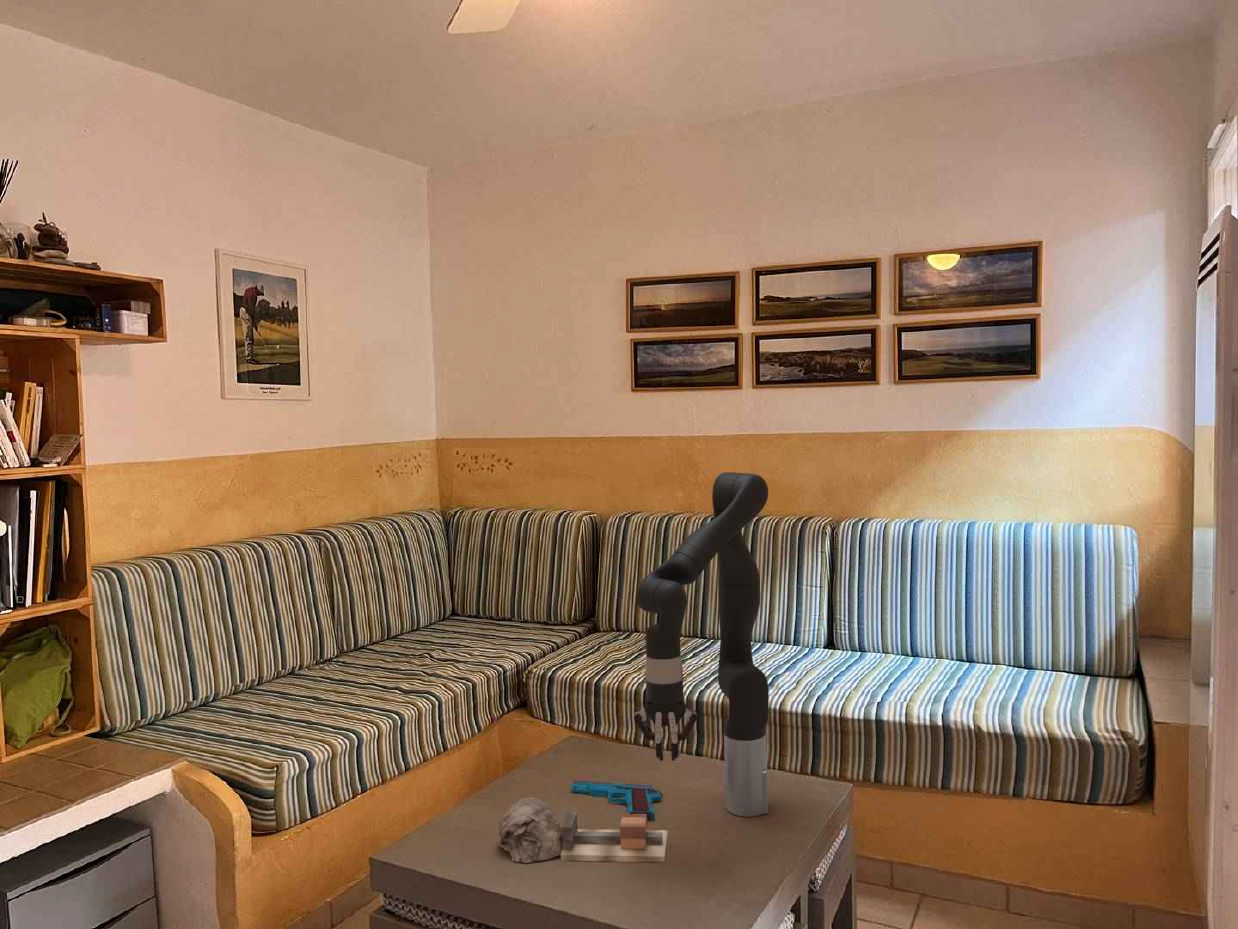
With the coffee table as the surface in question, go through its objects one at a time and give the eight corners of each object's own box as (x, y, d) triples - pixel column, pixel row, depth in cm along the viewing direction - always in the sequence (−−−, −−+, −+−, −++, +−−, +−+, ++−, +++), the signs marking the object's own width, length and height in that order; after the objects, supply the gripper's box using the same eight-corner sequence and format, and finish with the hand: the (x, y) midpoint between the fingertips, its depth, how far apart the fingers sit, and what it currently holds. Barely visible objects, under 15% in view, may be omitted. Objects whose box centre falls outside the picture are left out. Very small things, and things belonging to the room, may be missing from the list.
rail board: (667, 836, 200) (666, 808, 199) (664, 862, 189) (663, 833, 188) (569, 834, 202) (568, 807, 201) (561, 860, 191) (559, 832, 191)
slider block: (647, 835, 197) (646, 814, 197) (645, 849, 192) (644, 827, 191) (623, 835, 198) (622, 813, 197) (620, 848, 192) (619, 826, 192)
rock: (576, 844, 198) (574, 798, 197) (545, 871, 187) (542, 823, 186) (518, 830, 205) (515, 786, 204) (484, 856, 195) (481, 809, 194)
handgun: (653, 825, 206) (669, 795, 220) (652, 813, 205) (668, 783, 220) (554, 818, 212) (576, 788, 227) (554, 806, 212) (575, 777, 226)
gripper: (698, 670, 194) (701, 752, 195) (632, 671, 195) (635, 752, 197) (697, 682, 186) (700, 767, 188) (628, 682, 188) (632, 766, 189)
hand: (667, 759), depth 192 cm, fingers closed
